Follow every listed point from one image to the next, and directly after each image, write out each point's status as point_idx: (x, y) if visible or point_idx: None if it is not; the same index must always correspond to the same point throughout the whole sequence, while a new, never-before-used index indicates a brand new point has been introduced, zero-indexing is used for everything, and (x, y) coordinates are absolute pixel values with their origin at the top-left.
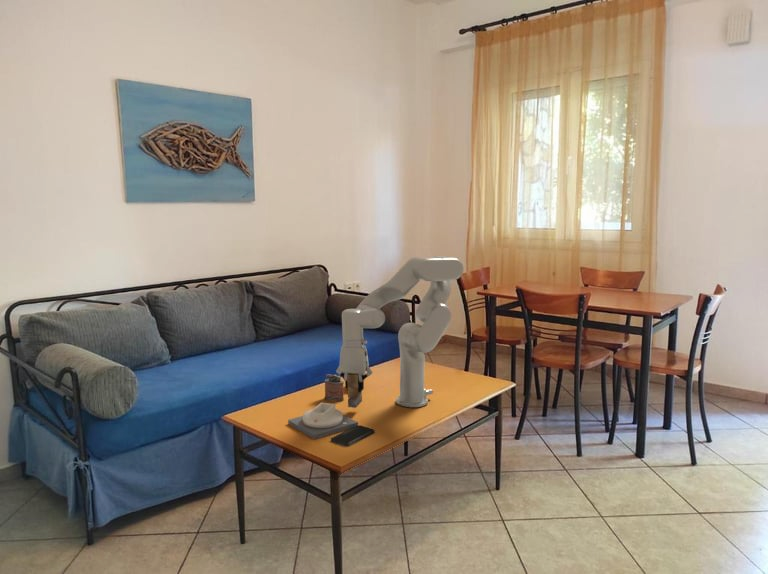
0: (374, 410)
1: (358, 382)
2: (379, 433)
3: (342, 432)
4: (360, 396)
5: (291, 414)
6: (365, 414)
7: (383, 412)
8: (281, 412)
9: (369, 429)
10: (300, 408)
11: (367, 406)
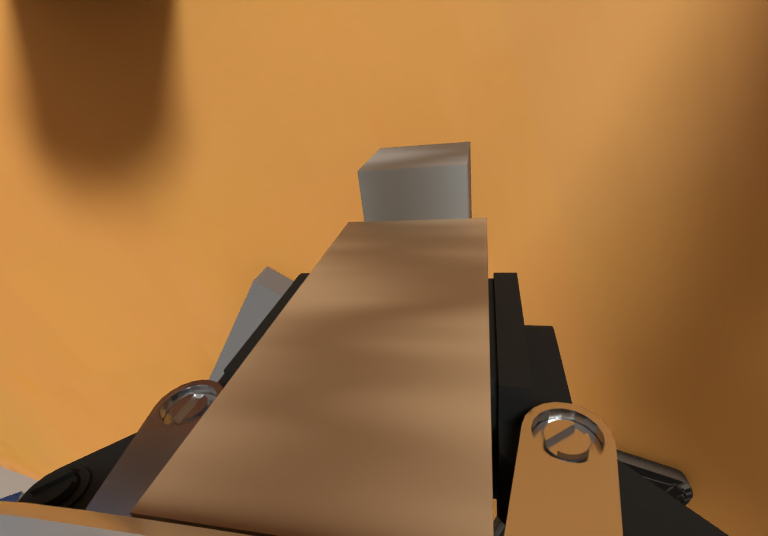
0: (601, 93)
1: (497, 509)
2: (723, 487)
3: (496, 531)
4: (468, 210)
5: (97, 356)
6: (538, 221)
7: (715, 112)
8: (35, 345)
9: (649, 478)
10: (58, 261)
11: (493, 3)
